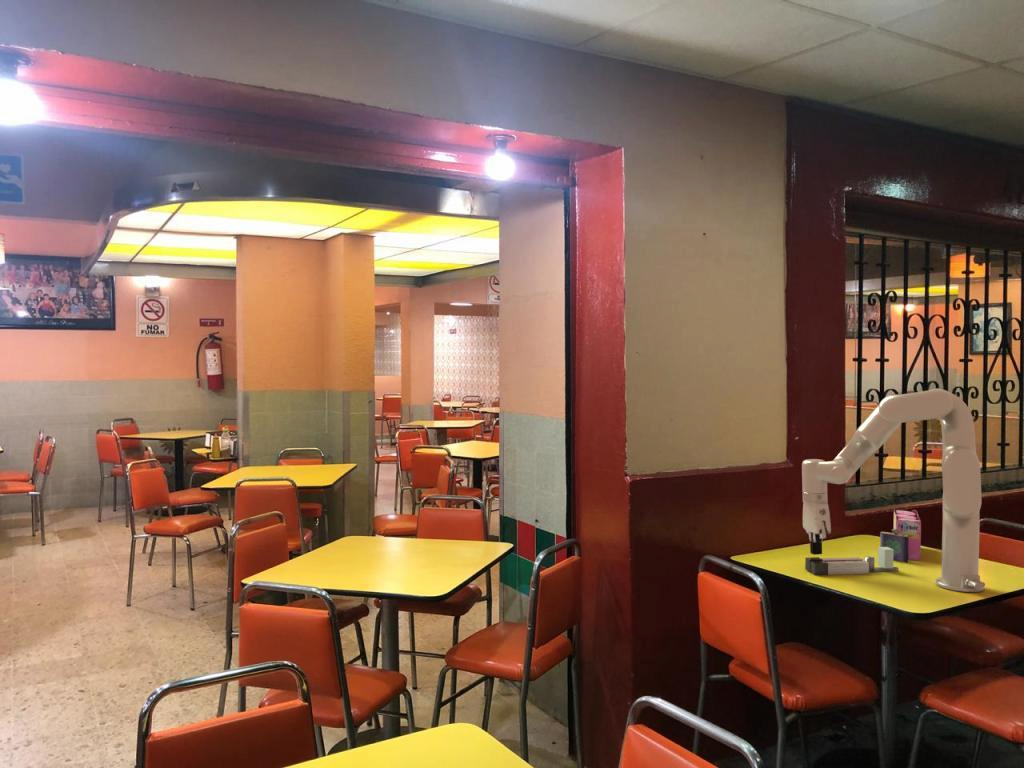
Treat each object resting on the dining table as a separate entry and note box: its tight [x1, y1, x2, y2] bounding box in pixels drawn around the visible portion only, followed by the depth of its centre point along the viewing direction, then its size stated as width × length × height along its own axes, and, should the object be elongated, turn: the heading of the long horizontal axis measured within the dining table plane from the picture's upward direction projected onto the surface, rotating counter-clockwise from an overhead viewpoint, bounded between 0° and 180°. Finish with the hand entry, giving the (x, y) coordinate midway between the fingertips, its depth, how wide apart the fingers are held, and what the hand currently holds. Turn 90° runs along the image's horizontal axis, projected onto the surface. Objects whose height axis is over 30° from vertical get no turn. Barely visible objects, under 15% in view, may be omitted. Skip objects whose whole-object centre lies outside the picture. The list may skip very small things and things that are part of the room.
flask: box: [879, 528, 909, 564], centre depth 260 cm, size 9×3×11 cm, turn 41°
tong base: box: [809, 556, 899, 576], centre depth 244 cm, size 4×30×4 cm, turn 97°
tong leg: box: [804, 556, 864, 572], centre depth 246 cm, size 3×18×4 cm, turn 97°
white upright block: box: [877, 546, 894, 568], centre depth 246 cm, size 4×3×6 cm
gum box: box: [893, 508, 922, 562], centre depth 272 cm, size 24×8×14 cm, turn 155°
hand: (816, 553), depth 248 cm, fingers closed
